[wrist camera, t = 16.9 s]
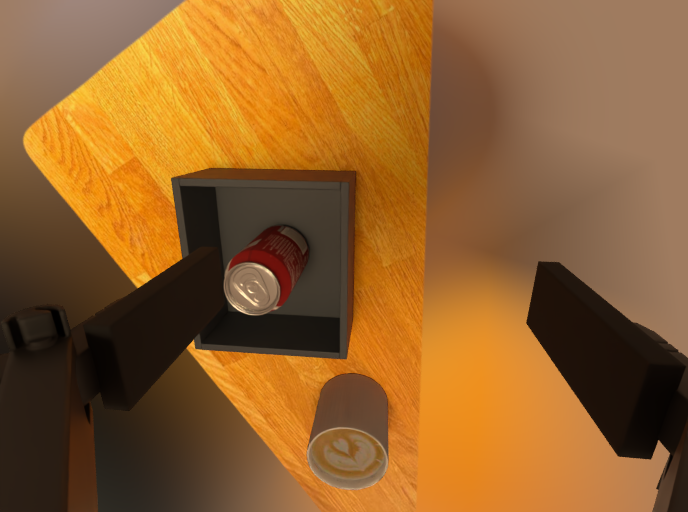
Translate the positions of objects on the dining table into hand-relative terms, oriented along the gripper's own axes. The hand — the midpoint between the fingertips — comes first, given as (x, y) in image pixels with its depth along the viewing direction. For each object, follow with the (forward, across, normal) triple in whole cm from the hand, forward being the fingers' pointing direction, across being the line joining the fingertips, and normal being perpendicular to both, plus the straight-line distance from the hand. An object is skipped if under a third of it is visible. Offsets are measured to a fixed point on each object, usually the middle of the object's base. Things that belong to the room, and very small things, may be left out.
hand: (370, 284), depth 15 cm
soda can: (+29, -12, -9) cm, 32 cm away
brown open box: (+30, -12, -9) cm, 33 cm away
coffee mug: (+30, -3, -34) cm, 45 cm away
